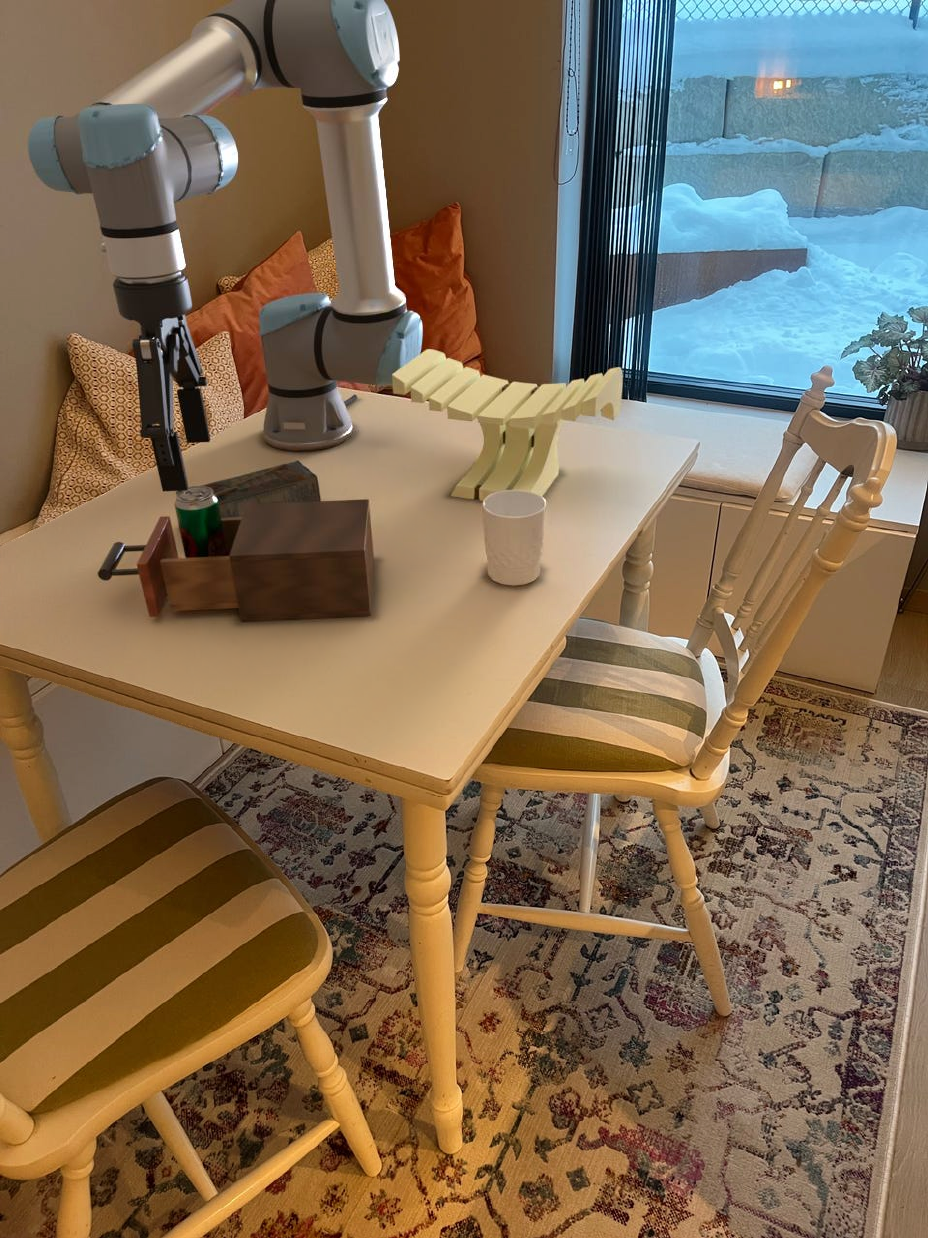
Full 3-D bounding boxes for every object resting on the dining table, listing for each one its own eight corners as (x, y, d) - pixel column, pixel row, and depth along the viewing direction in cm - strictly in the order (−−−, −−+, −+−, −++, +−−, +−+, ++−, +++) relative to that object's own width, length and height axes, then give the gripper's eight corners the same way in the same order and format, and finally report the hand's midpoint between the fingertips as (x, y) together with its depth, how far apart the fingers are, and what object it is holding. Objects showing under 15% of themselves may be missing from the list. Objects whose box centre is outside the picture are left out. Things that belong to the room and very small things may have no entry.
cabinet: (240, 622, 112) (228, 555, 107) (256, 566, 124) (246, 504, 119) (370, 616, 113) (364, 549, 108) (374, 561, 124) (368, 498, 119)
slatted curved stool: (616, 473, 146) (624, 360, 136) (589, 516, 134) (596, 396, 124) (439, 449, 156) (435, 343, 146) (399, 488, 143) (391, 374, 134)
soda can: (222, 592, 114) (205, 503, 108) (184, 589, 115) (165, 500, 109) (238, 572, 118) (223, 485, 112) (201, 569, 119) (184, 482, 113)
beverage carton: (180, 527, 134) (171, 485, 130) (305, 496, 142) (300, 455, 138) (197, 549, 128) (188, 506, 124) (326, 515, 136) (321, 473, 132)
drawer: (100, 619, 112) (85, 566, 108) (126, 568, 122) (114, 518, 118) (270, 611, 112) (261, 558, 108) (282, 561, 123) (274, 511, 119)
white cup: (474, 565, 123) (472, 496, 117) (528, 553, 125) (529, 485, 120) (498, 593, 116) (497, 522, 111) (554, 580, 119) (557, 509, 113)
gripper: (141, 249, 107) (177, 425, 119) (77, 308, 86) (128, 514, 98) (207, 247, 107) (236, 422, 119) (158, 305, 86) (200, 511, 98)
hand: (187, 464), depth 108 cm, fingers open, 13 cm apart
